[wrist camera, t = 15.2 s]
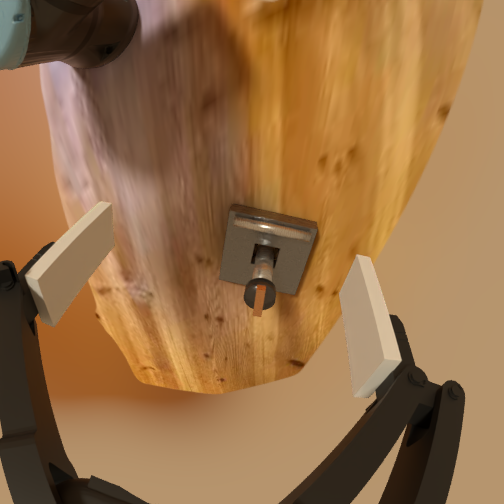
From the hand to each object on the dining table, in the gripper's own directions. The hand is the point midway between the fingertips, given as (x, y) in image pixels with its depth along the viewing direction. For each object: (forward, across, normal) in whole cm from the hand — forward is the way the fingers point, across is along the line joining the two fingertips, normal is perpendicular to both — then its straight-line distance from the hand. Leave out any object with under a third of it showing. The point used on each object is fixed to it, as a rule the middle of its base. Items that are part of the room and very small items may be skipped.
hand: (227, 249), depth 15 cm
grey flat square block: (+32, +4, -20) cm, 38 cm away
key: (+32, +4, -20) cm, 38 cm away
